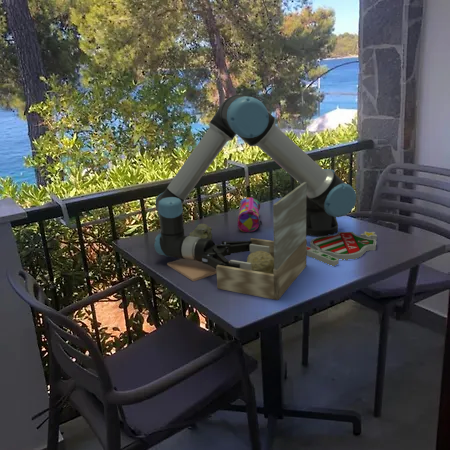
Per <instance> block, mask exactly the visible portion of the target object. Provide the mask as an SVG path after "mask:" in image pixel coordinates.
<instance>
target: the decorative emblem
mask: <svg viewBox="0 0 450 450" xmlns="http://www.w3.org/2000/svg"><path fill="white" fill-rule="evenodd" d="M376 240H378V235H377V234H376V232H375V231H371V232H369V231H364V232H363V233H360V235H358V234H356V233H355V232H353V231H337V233H335V234H331V235H327V236H316V237H315V238H313V239H311V240H310V243H309V244H310V245H309V246H308V245H307V257H310V258H311V257H312V259H314V258H315V259H314V260H316V259H317V260H316V261H318V260H319V261H318V262H321V261H322V262H321V263H323V262H324V263H323V264H325V263H327V264H326V265H328V264H329V265H328V266H330V265H332V266H335V265H337V264H340V260H339V259H342V260H341V261H343V260H344V259H345V260H346V261H349V260H348V259H354V260H357V259H360V258H361V256H362V255H363V254H365V253H367V252H368V251H376V249H377V241H376ZM366 251H367V252H366ZM363 256H364V255H363ZM363 256H362V257H363ZM359 257H360V258H359ZM356 258H357V259H356ZM332 266H331V267H332ZM335 267H336V266H335Z"/></svg>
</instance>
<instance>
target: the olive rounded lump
mask: <svg viewBox="0 0 450 450" xmlns="http://www.w3.org/2000/svg"><path fill="white" fill-rule="evenodd" d="M246 262H248V263H251V269H252V271H258V272H264V273H270V274H274V272H273V269H274V258H273V257H272V256H271V254H269V253H267V252H265V251H256V252H255V253H250V252H249V254H248V255H247V259H246Z"/></svg>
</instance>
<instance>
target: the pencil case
mask: <svg viewBox="0 0 450 450" xmlns="http://www.w3.org/2000/svg"><path fill="white" fill-rule="evenodd" d="M260 209H261V203H260V201H259V200H257V199H255V198H253V197H243V198H242V199H241V200H240V202H239V212H238V215H237V216H238V217H237V228H238V229H239V231H240V232H243V233H253V232H255V231H256V230H258V228H259V227H260V226H261V225H263V222H262V220H260Z"/></svg>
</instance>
